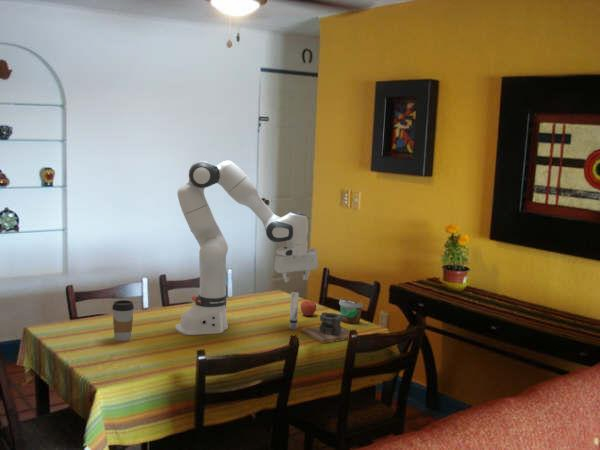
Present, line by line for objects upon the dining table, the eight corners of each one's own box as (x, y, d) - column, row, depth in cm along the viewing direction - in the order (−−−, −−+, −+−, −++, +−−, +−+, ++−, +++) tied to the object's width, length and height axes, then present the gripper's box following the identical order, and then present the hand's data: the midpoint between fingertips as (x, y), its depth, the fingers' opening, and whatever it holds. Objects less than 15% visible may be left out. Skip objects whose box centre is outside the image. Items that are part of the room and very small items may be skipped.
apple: (307, 312, 328) (308, 296, 327) (319, 316, 323) (320, 299, 322) (296, 315, 323) (297, 298, 322) (308, 318, 318) (309, 301, 317)
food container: (332, 320, 317) (333, 299, 316) (340, 318, 322) (342, 297, 320) (353, 326, 309) (354, 305, 307) (361, 324, 313) (363, 302, 312)
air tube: (291, 330, 299) (293, 294, 297) (287, 328, 302) (289, 292, 300) (298, 329, 301) (300, 293, 299) (294, 327, 304) (296, 291, 302)
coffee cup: (110, 336, 279) (110, 300, 276) (131, 335, 282) (132, 299, 280) (113, 343, 271) (113, 306, 269) (135, 341, 274) (135, 304, 272)
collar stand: (322, 343, 284) (323, 323, 282) (302, 332, 297) (303, 313, 296) (358, 338, 293) (359, 318, 292) (336, 327, 306) (338, 308, 305)
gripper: (313, 246, 304) (312, 277, 306) (273, 249, 294) (272, 281, 296) (321, 249, 299) (320, 280, 301) (280, 252, 288) (279, 284, 291)
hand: (296, 281), depth 298 cm, fingers open, 8 cm apart
